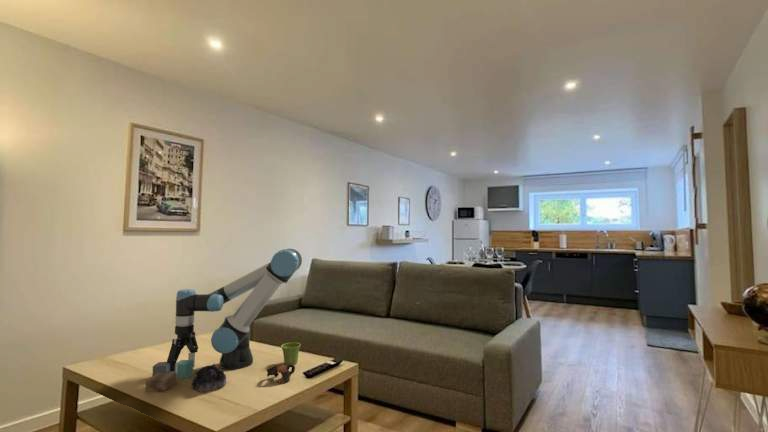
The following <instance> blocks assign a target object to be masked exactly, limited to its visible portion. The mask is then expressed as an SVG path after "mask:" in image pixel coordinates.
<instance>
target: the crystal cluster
mask: <svg viewBox="0 0 768 432" xmlns="http://www.w3.org/2000/svg"><path fill="white" fill-rule="evenodd" d="M191 386H192V387H193V388H194V390H196V391H197V392H199V393H204V392H212V391H215V390H217V389H221V388H223V387H225V386H227V375H226V374H225V373H224V370H221V369H220V368H219V367H218V366H217V365H216V364H215V363H214V364H210V365H206V366H202V367H201V368H199V369H198V370H197V371H195V376H193V379H192V381H191Z"/></svg>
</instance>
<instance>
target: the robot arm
mask: <svg viewBox="0 0 768 432" xmlns="http://www.w3.org/2000/svg"><path fill="white" fill-rule="evenodd" d="M302 262H303V259H302V256H301V254H300V252H299V251H298V250H297V249H293V248H285V249H281V250H278V251H277V252H275V253H274V254H273V256H272V258H271V260H270V261H269V262H267V263H266V264H264V265H262V266H260V267H259V268H256V269H254V270H253V271H251V272H249V273H247V274H245V275H243V276H241V277H239V278H237V279H235V280H234V281H231V282H229V283H227V284H226V285H224V286H222V287H220V288H218V289H216V290H214V291H212V292H209V293H207V294H202V293H201V294H196V291H195V289H190V288H189V289H187V288H186V289H180V290H178V291H177V292H176V299H175V326H174V334H175V335H176V336H177V337H176V338H173V339H172V340H171V341H172V343H171V347H170V349H169V353H168V357H167V359H166V362H167V363H170V373H177V364H178V363H177V362H178V359H179V357H180V354H181V352H182V350H183V349H184V347H185V346H186V348H187V350H188V353H187V354H188V356H187V357H188V358H187V360H193V369H194V368H195V366H196V365H195V363H196V358H195V357H196V353H199V352H198V351H199V344H198V341H197V338H196V331H194V330H195V329H194V327H195V325H194V324H195V312H212V313H214V312H220V311H221V310H222V309H223V306H224V305H225V304H226V303H228V302H230V301H232V300H234V299H236V298H237V297H239V296H242V295H243V294H245V293H246V292H250V291H251V290H252V291H251V292H250V293H249V294H248V296H247V297H246V298H245V300H244V301H243V302H242V303H241V305H240V306H239V307H238V309H237V310H236V311H235V313H234V314H232V315H228V316H225V317H224V321H223V322H222V324H220V326H219V327H217V329H215V330H214V331H213V333H212V335H211V338H210V342H211V343H210V344H211V346H212V348H213V350H214V351H216V352H218V353H220V354H221V357H220V358H219V367H220V368H221V369H224V370H238V369H242V368H245V367H249V366H251V365H252V364H254V363H253V362H254V357H253V354H252V350H251V347H250V338H251V337H250V336H251V335H250V333H251V332H250V331H251V330H250V329H251V324H252V323H253V321H254V320H255V319H256V318H257V316H258V315H259V314H260V312H261V311H262V310H263V309H264V307H265V306H266V305H267V303H268V302H269V301H270V299H271V298H272V297H273V295H274V294H275V293H276V292H277V291H278V289H279V287H281V285H282V284H287V283H288V281H289V280H290V279H291V278H292V276H293V275H294V273H296V272H297V270H299V269H300V268H301V265H302V264H303V263H302ZM176 379H178V378H177V375H176Z"/></svg>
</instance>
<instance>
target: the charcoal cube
mask: <svg viewBox="0 0 768 432" xmlns="http://www.w3.org/2000/svg"><path fill="white" fill-rule="evenodd" d="M157 373H170V363H167V361H158V362H157V363H155V364H154V365H153V366H152V376H153V375H155V374H157ZM152 376H151V377H152Z"/></svg>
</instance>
